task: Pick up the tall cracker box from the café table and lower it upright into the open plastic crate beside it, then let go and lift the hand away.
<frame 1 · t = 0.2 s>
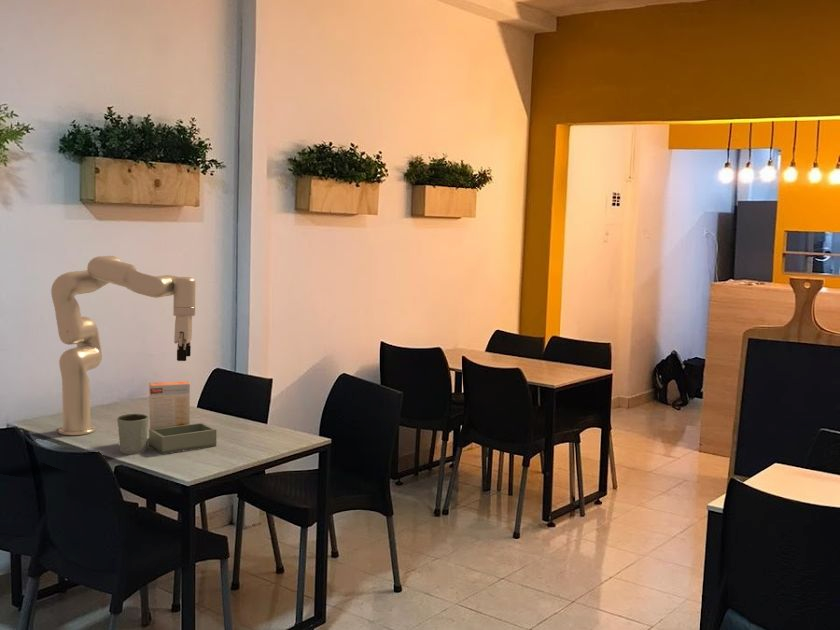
hand: (183, 358, 305), 31 cm above the table, tool pointing down, fingers open, 9 cm apart
cracker box: (169, 439, 311), on the table
grey-green cup: (133, 451, 294), on the table
crate: (182, 446, 302), on the table
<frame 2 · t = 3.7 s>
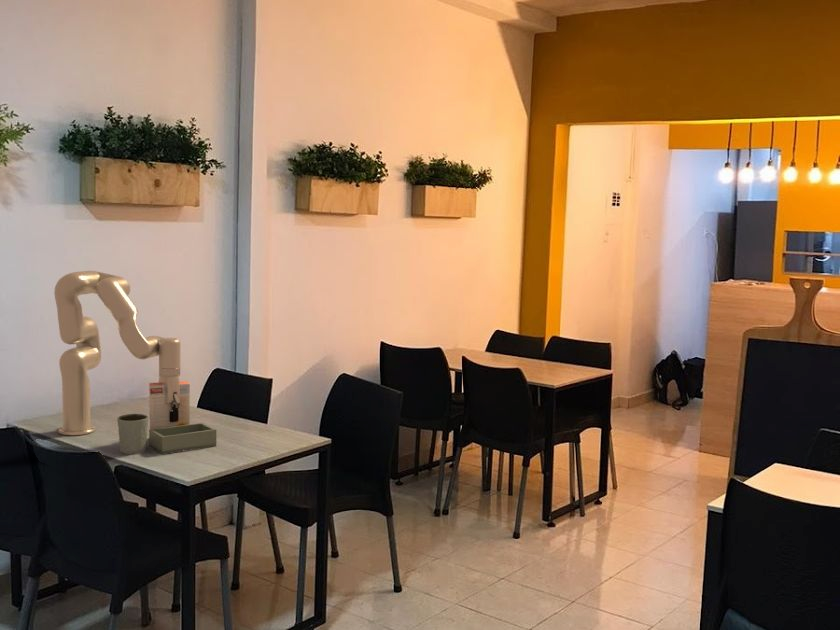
hand: (169, 419, 311), 7 cm above the table, tool pointing down, fingers closed on cracker box, 7 cm apart
cracker box: (169, 439, 311), on the table, touching gripper
everything else where it was.
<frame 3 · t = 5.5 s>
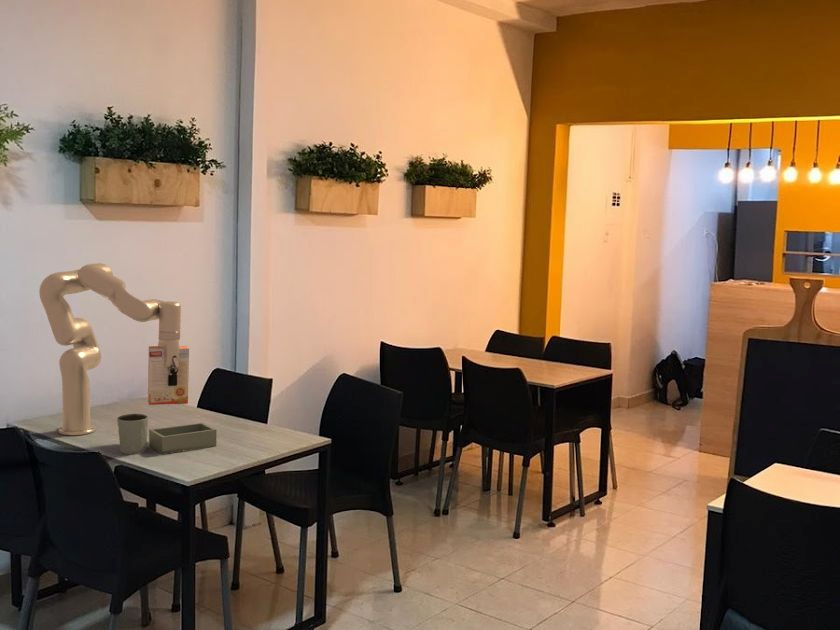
hand: (168, 383, 309), 21 cm above the table, tool pointing down, fingers closed on cracker box, 7 cm apart
cracker box: (167, 403, 310), point 13 cm above the table, touching gripper
everything else where it was.
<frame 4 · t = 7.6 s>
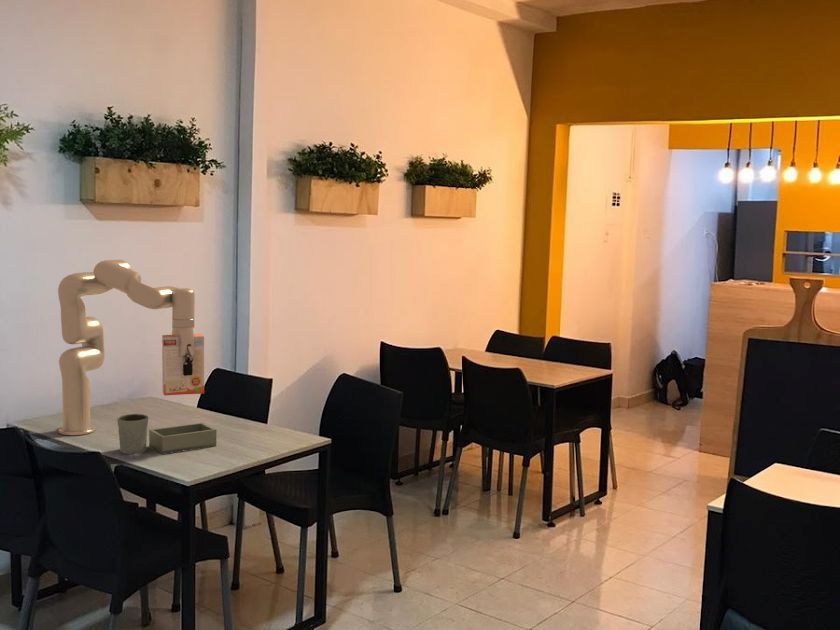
hand: (183, 373, 299), 27 cm above the table, tool pointing down, fingers closed on cracker box, 7 cm apart
cracker box: (183, 393, 300), point 19 cm above the table, touching gripper
everything else where it was.
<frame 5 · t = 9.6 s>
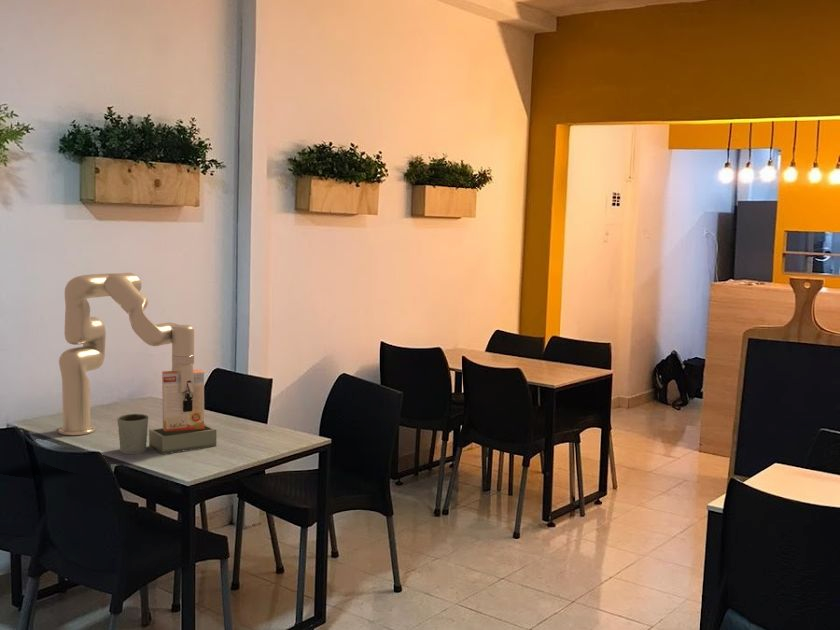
hand: (183, 408, 301), 14 cm above the table, tool pointing down, fingers closed on cracker box, 7 cm apart
cracker box: (183, 429, 301), point 6 cm above the table, touching gripper
everything else where it was.
when the fingers open (10 cm above the table, at t = 11.5 s): cracker box drops 1 cm, resting on crate.
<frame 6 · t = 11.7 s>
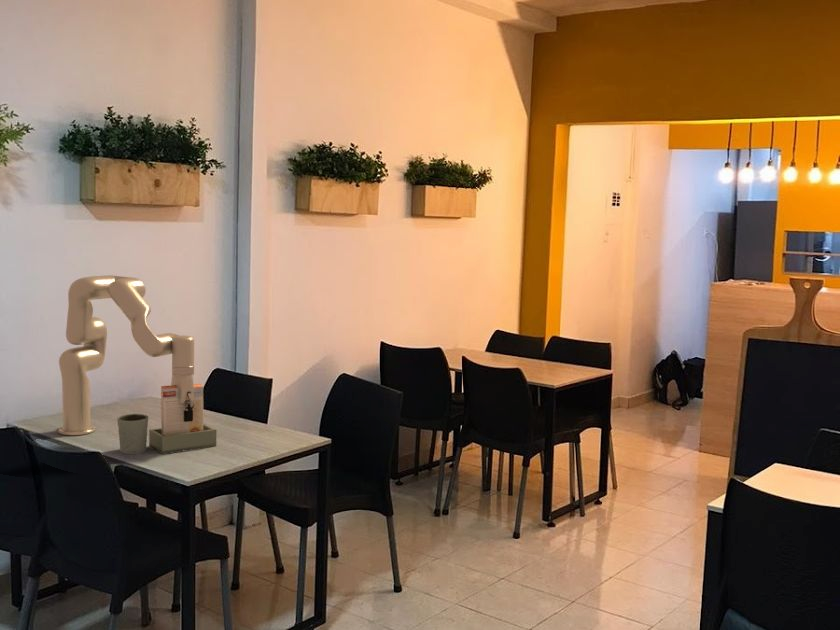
hand: (182, 418, 301), 10 cm above the table, tool pointing down, fingers open, 8 cm apart
cracker box: (182, 443, 302), point 1 cm above the table, touching crate
everything else where it was.
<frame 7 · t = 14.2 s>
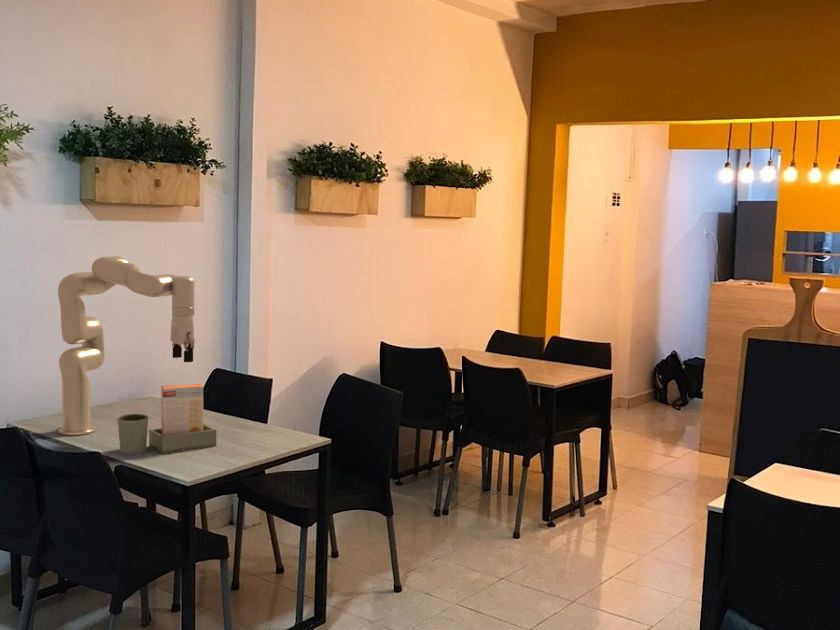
hand: (182, 359, 299), 31 cm above the table, tool pointing down, fingers open, 9 cm apart
nothing on the table moved.
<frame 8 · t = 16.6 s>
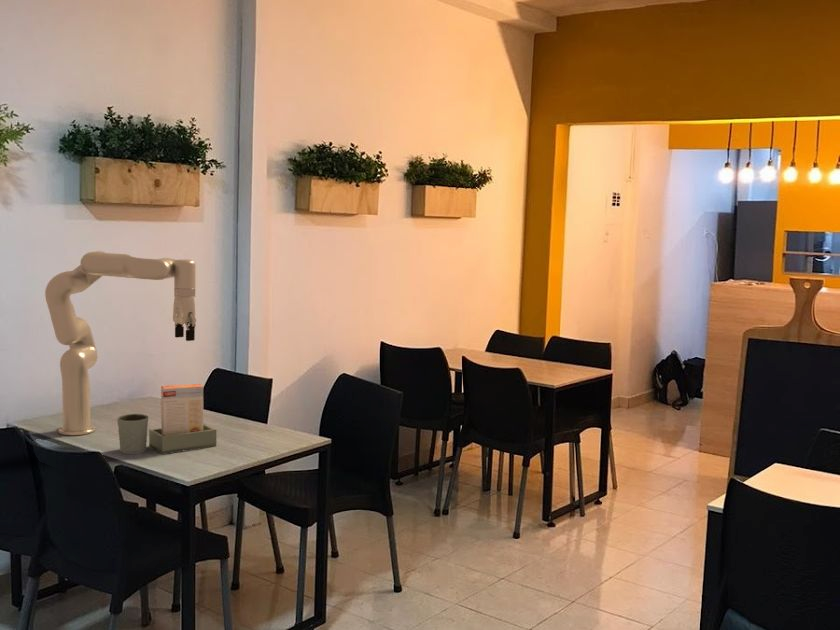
hand: (184, 338, 314), 36 cm above the table, tool pointing down, fingers open, 9 cm apart
nothing on the table moved.
at the end: cracker box inside the target area on the crate (0.4 cm from its centre), point 0.8 cm above the crate's base; cracker box tilted 0°; the gripper is holding nothing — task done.
